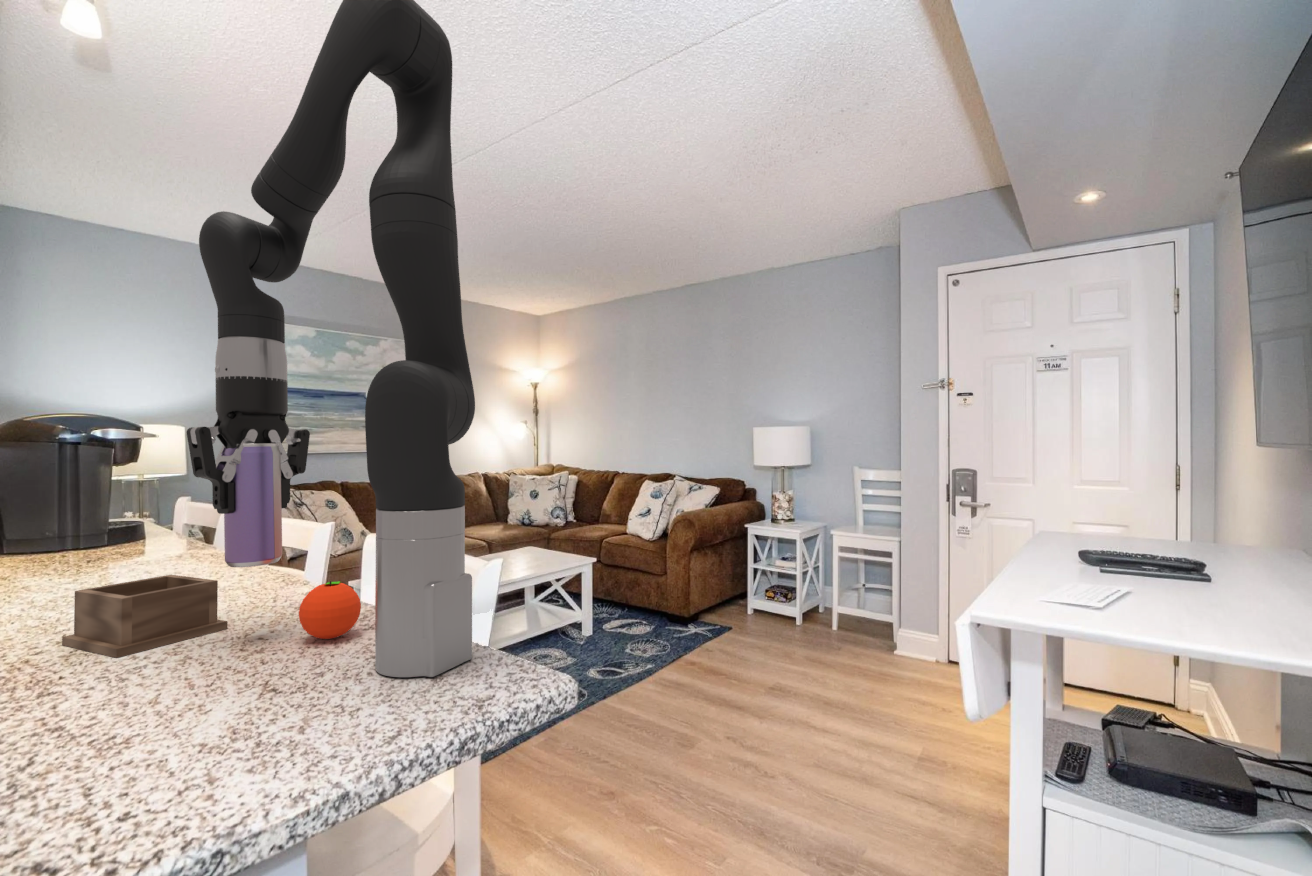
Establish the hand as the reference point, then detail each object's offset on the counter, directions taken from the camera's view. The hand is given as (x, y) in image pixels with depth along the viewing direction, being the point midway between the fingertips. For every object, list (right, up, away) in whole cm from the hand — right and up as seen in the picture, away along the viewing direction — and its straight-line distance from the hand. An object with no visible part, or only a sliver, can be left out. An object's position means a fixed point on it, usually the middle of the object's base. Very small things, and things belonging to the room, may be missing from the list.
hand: (253, 510), depth 74 cm
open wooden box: (-15, -16, +1) cm, 22 cm away
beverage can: (0, -7, 0) cm, 7 cm away
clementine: (+9, -16, +1) cm, 19 cm away
